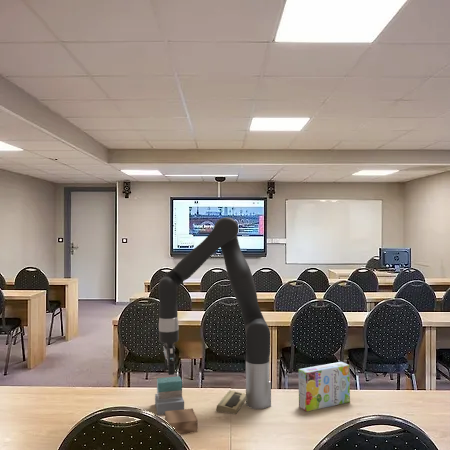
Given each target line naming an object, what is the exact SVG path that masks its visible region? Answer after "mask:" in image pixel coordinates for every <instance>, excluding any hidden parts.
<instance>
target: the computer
mask: <svg viewBox="0 0 450 450" xmlns="http://www.w3.org/2000/svg"><path fill="white" fill-rule="evenodd" d="M244 402H246V393H243V392H241V391H240V392H239V391H236V390H231V389H230V390H228V391H227V393H226V394H225V395H224V396H223V397H222V398H221V400H220V401H219V403H218V404H217V405H216V409H215V411H217V412H218V413H226V414H232V415H237V413H238V412H239V410H240V409H241V407H242V405H243V404H244Z"/></svg>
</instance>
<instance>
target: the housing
mask: <svg viewBox="0 0 450 450" xmlns="http://www.w3.org/2000/svg"><path fill="white" fill-rule="evenodd" d="M156 394H157V398H158V402H160V401H171V400H181V399H182V397H183V380H182V378H181V376H179V375H178V376H168V377H158V378H156Z"/></svg>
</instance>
